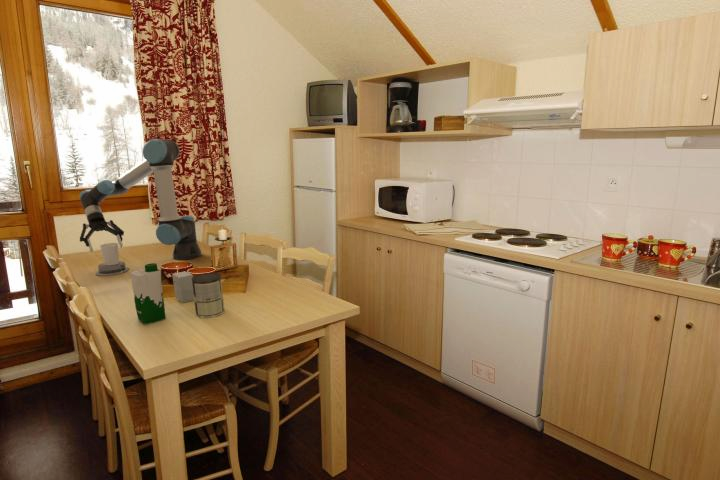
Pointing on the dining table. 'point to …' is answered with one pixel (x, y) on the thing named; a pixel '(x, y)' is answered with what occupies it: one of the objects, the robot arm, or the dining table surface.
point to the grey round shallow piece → (111, 269)
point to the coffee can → (208, 295)
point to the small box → (183, 286)
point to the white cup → (110, 253)
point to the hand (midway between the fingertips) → (107, 248)
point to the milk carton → (148, 294)
